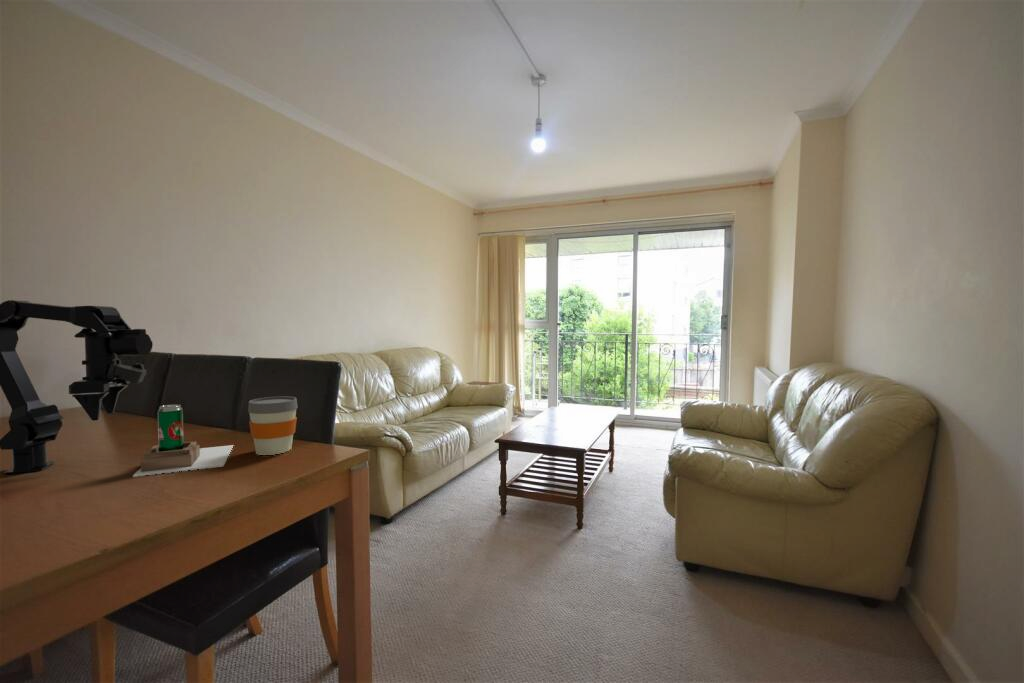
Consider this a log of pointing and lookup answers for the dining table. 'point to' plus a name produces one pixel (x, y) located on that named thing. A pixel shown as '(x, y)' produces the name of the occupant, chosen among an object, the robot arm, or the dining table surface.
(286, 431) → the reusable coffee cup
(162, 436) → the soda can
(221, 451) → the white flat sheet
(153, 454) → the socket block
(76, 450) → the dining table surface
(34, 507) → the dining table surface
